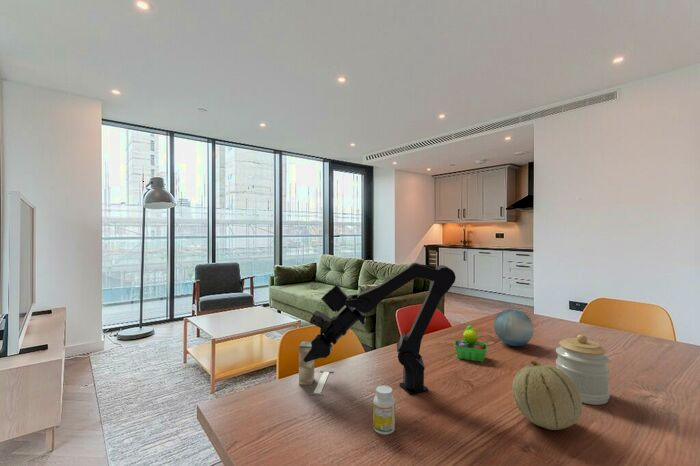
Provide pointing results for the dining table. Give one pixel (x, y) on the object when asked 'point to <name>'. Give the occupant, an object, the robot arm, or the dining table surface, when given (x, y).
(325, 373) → the tape line
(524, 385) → the cantaloupe
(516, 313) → the decorative ball
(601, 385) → the jar
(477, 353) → the fruit basket
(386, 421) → the supplement bottle
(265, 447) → the dining table surface
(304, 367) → the beige tall block
